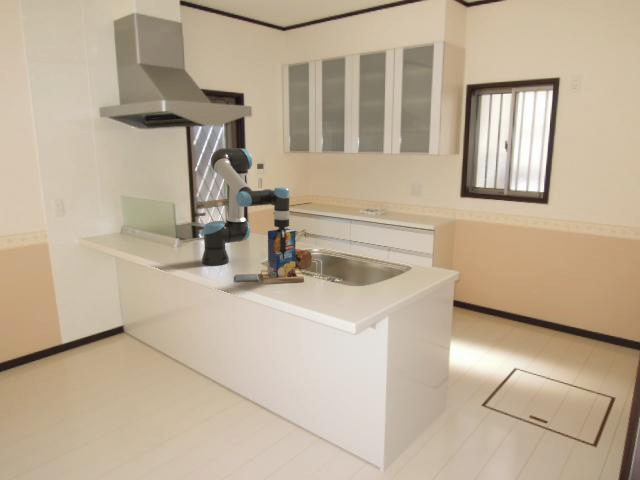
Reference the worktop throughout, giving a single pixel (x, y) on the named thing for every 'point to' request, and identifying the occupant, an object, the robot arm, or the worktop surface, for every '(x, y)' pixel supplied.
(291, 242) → the juice carton
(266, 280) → the board
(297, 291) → the worktop surface
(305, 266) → the bread
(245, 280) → the plate
